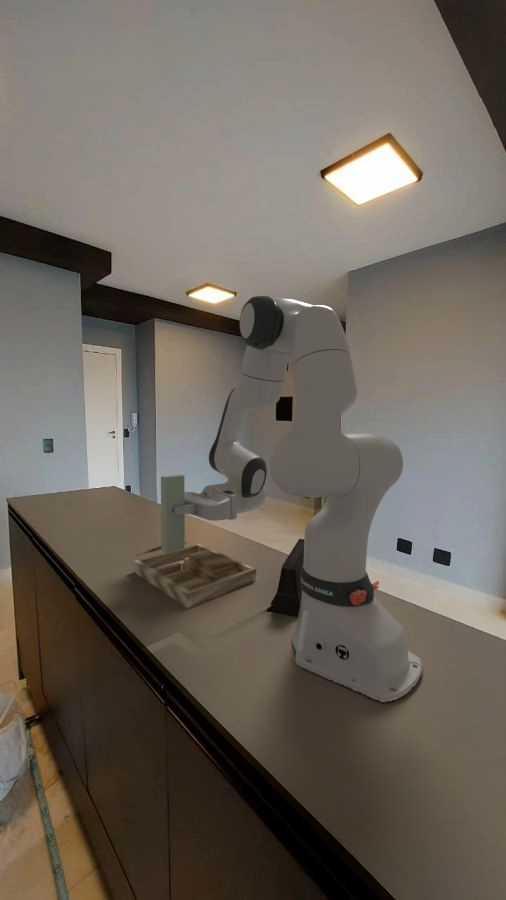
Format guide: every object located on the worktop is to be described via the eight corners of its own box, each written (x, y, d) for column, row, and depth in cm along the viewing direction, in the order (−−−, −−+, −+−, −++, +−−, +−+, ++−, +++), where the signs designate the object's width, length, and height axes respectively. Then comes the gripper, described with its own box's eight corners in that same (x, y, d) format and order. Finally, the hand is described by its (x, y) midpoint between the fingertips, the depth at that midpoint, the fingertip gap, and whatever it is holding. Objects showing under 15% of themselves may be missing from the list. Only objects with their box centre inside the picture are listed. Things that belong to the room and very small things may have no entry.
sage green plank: (184, 548, 91) (184, 475, 90) (166, 553, 88) (166, 477, 86) (179, 546, 93) (178, 474, 91) (161, 550, 89) (160, 476, 88)
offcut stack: (238, 578, 93) (238, 561, 92) (215, 586, 88) (215, 569, 88) (204, 561, 103) (204, 546, 102) (182, 568, 98) (182, 552, 98)
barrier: (305, 620, 77) (307, 573, 77) (265, 612, 80) (266, 567, 79) (321, 575, 100) (322, 539, 99) (289, 570, 102) (290, 535, 102)
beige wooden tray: (255, 586, 92) (256, 568, 91) (187, 614, 78) (187, 594, 77) (198, 558, 109) (198, 543, 109) (134, 577, 95) (134, 560, 95)
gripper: (192, 484, 106) (148, 490, 96) (241, 495, 91) (194, 503, 81) (192, 506, 106) (148, 514, 97) (240, 520, 91) (194, 531, 82)
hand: (169, 509), depth 89 cm, fingers closed on sage green plank, 2 cm apart
